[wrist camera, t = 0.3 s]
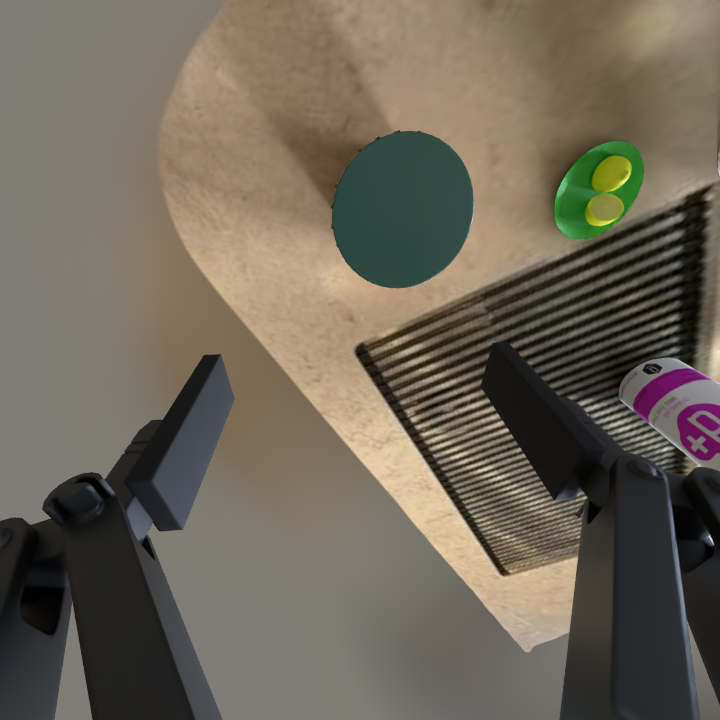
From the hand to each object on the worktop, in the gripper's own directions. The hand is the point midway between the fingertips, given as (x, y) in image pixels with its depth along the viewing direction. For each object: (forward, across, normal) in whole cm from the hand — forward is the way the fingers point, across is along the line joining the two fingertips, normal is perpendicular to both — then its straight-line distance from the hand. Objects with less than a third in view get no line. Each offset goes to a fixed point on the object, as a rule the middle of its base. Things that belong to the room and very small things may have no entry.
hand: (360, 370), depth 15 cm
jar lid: (+7, +3, +6) cm, 10 cm away
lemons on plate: (+19, +24, +6) cm, 31 cm away
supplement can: (+18, +41, -17) cm, 48 cm away
